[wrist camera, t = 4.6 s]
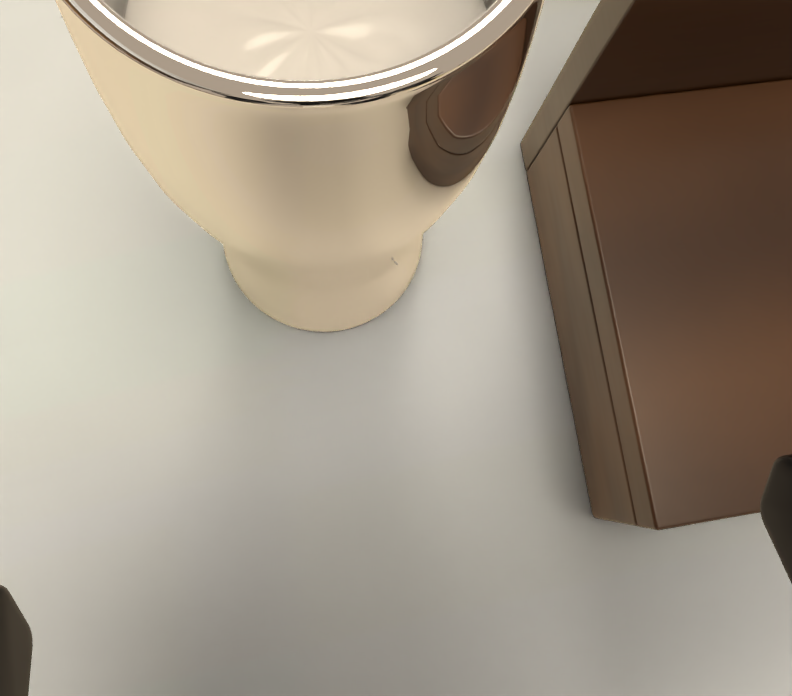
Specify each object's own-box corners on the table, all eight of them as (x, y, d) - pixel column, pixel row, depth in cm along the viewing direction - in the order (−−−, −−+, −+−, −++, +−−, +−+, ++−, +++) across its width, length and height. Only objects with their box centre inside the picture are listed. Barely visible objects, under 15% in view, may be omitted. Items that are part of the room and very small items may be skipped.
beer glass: (214, 355, 22) (-25, 139, 8) (204, 134, 24) (-23, -428, 9) (445, 339, 23) (635, 110, 8) (425, 125, 24) (562, -416, 9)
